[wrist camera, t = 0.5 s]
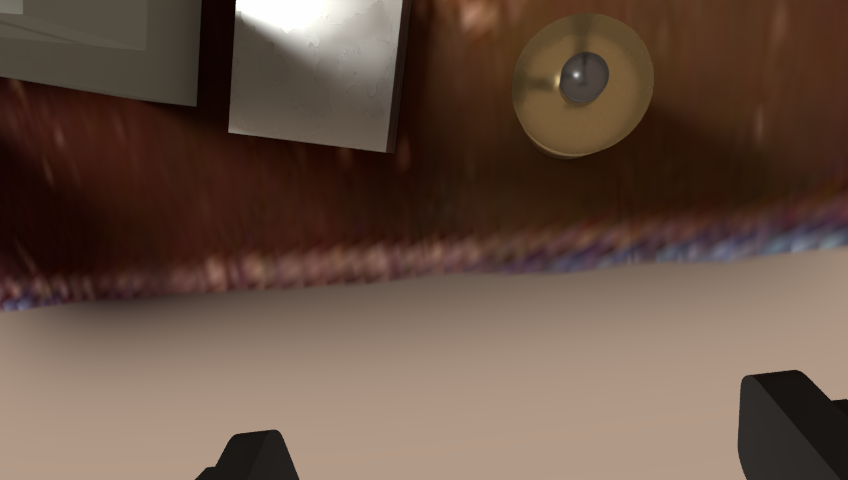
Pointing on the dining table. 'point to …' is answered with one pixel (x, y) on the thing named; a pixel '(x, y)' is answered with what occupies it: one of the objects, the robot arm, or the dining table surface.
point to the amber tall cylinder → (581, 85)
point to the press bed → (320, 71)
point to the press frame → (105, 46)
